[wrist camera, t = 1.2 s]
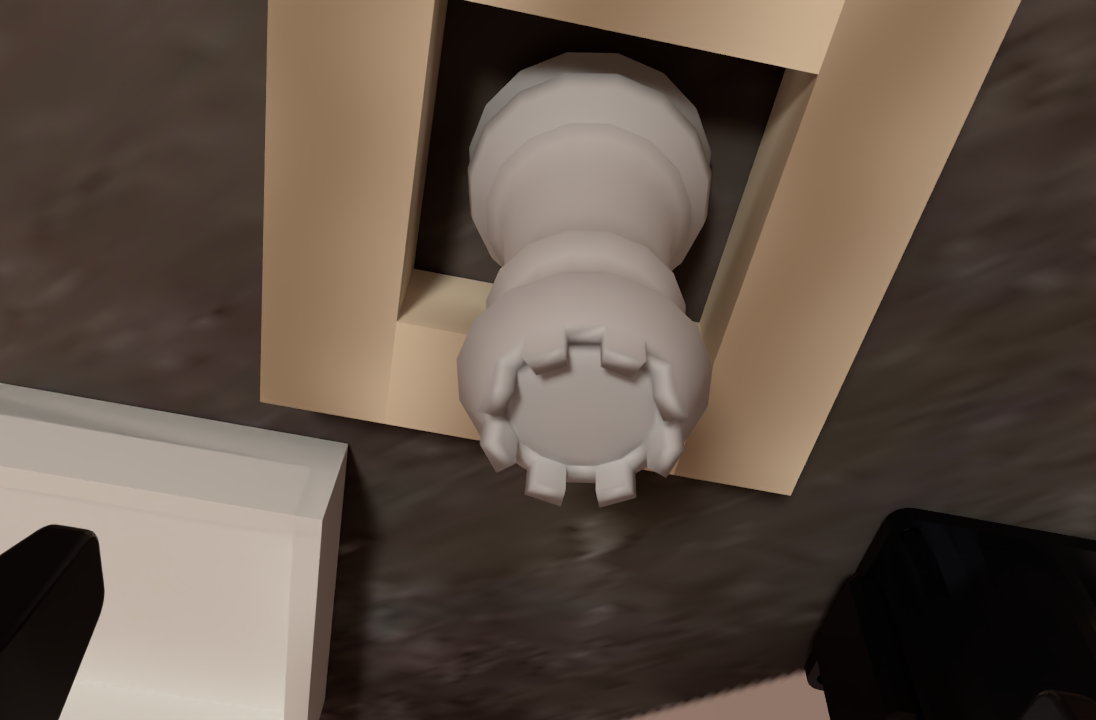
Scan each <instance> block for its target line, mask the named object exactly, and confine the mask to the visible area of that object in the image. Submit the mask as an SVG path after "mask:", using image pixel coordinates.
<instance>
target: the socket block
mask: <svg viewBox="0 0 1096 720" xmlns="http://www.w3.org/2000/svg"><path fill="white" fill-rule="evenodd" d="M466 1H471V2H476V3H481V4H485V5H490V6H495V7H500V8H504V9H509V10H514V11H519V12H524V13H528V14H533V15H538V16H543V17H547V18H552V19H557V20H562V21H566V22H571V23H576V24H581V25H585V26H590V27H595V28H600V29H604V30H609V31H614V32H619V33H623V34H628V35H633V36H638V37H642V38H647V39H652V40H657V41H661V42H666V43H671V44H676V45H681V46H685V47H690V48H695V49H700V50H704V51H709V52H714V53H719V54H723V55H728V56H733V57H738V58H742V59H747V60H752V61H757V62H761V63H766V64H771V65H776V66H780V67H785V68H786V70H785V72H784V75H783V78H782V81H781V84H780V87H779V90H778V93H777V96H776V99H775V102H774V105H773V108H772V111H771V114H770V117H769V120H768V122H767V125H766V128H765V131H764V134H763V137H762V140H761V143H760V146H759V149H758V152H757V155H756V158H755V161H754V164H753V167H752V170H751V172H750V175H749V178H748V181H747V184H746V187H745V190H744V193H743V196H742V199H741V202H740V205H739V208H738V211H737V214H736V217H735V219H734V222H733V225H732V228H731V231H730V234H729V237H728V240H727V243H726V246H725V249H724V252H723V255H722V258H721V261H720V264H719V267H718V269H717V272H716V275H715V278H714V281H713V284H712V287H711V290H710V293H709V296H708V299H707V302H706V305H705V308H704V311H703V314H702V317H701V319H700V322H699V323H698V322H694V323H695V324H696V325H697V326H698V329H699V332H700V334H701V337H702V339H703V342H704V345H705V347H706V350H707V353H708V355H709V358H710V360H711V363H712V366H713V368H712V376H711V384H710V393H709V401H708V407H707V409H706V410H705V412H704V413H703V415H702V416H701V418H700V419H699V421H698V422H697V424H696V425H695V427H694V428H693V430H692V431H691V433H690V434H689V436H688V437H687V439H686V440H685V442H684V452H683V453H682V455H681V456H680V458H679V459H678V461H677V462H676V464H675V465H674V467H673V469H672V470H671V472H670V473H669V474H671V475H677V476H682V477H688V478H694V479H699V480H705V481H711V482H716V483H722V484H728V485H733V486H739V487H745V488H750V489H756V490H762V491H767V492H773V493H778V494H784V495H790V496H791V493H792V491H793V489H794V487H795V485H796V483H797V481H798V478H799V476H800V474H801V472H802V470H803V468H804V465H805V463H806V461H807V459H808V457H809V455H810V453H811V450H812V448H813V446H814V444H815V442H816V440H817V438H818V435H819V433H820V431H821V429H822V427H823V425H824V423H825V420H826V418H827V416H828V414H829V412H830V410H831V407H832V405H833V403H834V401H835V399H836V397H837V395H838V392H839V390H840V388H841V386H842V384H843V382H844V380H845V377H846V375H847V373H848V371H849V369H850V367H851V365H852V362H853V360H854V358H855V356H856V354H857V352H858V349H859V347H860V345H861V343H862V341H863V339H864V337H865V334H866V332H867V330H868V328H869V326H870V324H871V322H872V319H873V317H874V315H875V313H876V311H877V309H878V307H879V304H880V302H881V300H882V298H883V296H884V294H885V291H886V289H887V287H888V285H889V283H890V281H891V279H892V276H893V274H894V272H895V270H896V268H897V266H898V264H899V261H900V259H901V257H902V255H903V253H904V251H905V249H906V246H907V244H908V242H909V240H910V238H911V236H912V234H913V231H914V229H915V227H916V225H917V223H918V221H919V218H920V216H921V214H922V212H923V210H924V208H925V206H926V203H927V201H928V199H929V197H930V195H931V193H932V191H933V188H934V186H935V184H936V182H937V180H938V178H939V176H940V173H941V171H942V169H943V167H944V165H945V163H946V160H947V158H948V156H949V154H950V152H951V150H952V148H953V145H954V143H955V141H956V139H957V137H958V135H959V133H960V130H961V128H962V126H963V124H964V122H965V120H966V118H967V115H968V113H969V111H970V109H971V107H972V105H973V102H974V100H975V98H976V96H977V94H978V92H979V90H980V87H981V85H982V83H983V81H984V79H985V77H986V75H987V72H988V70H989V68H990V66H991V64H992V62H993V60H994V57H995V55H996V53H997V51H998V49H999V47H1000V44H1001V42H1002V40H1003V38H1004V36H1005V34H1006V32H1007V29H1008V27H1009V25H1010V23H1011V21H1012V19H1013V17H1014V14H1015V12H1016V10H1017V8H1018V6H1019V4H1020V2H1021V0H466ZM447 3H448V0H268V32H267V82H266V132H265V182H264V232H263V282H262V332H261V383H260V402H264V403H270V404H276V405H281V406H287V407H293V408H298V409H304V410H310V411H315V412H321V413H327V414H332V415H338V416H344V417H349V418H355V419H360V420H366V421H372V422H377V423H383V424H389V425H394V426H400V427H406V428H411V429H417V430H423V431H428V432H434V433H440V434H445V435H451V436H456V437H462V438H468V439H473V440H479V441H480V439H481V436H480V435H479V433H478V431H477V429H476V428H475V426H474V424H473V423H472V421H471V419H470V417H469V416H468V414H467V412H466V410H465V409H464V407H463V405H462V404H461V402H460V400H459V389H458V374H457V357H458V355H459V353H460V350H461V348H462V346H463V344H464V341H465V339H466V337H467V334H468V332H469V330H470V328H471V325H472V323H473V321H474V320H475V319H476V318H477V317H478V316H479V315H481V314H482V313H483V312H484V311H485V310H486V299H487V297H488V295H489V293H490V290H491V288H492V286H493V284H492V283H487V282H481V281H476V280H471V279H465V278H460V277H455V276H450V275H444V274H439V273H434V272H428V271H423V270H418V269H414V264H415V256H416V248H417V240H418V232H419V224H420V216H421V208H422V201H423V193H424V185H425V177H426V169H427V161H428V153H429V145H430V137H431V129H432V121H433V113H434V106H435V98H436V90H437V82H438V74H439V66H440V58H441V50H442V42H443V34H444V26H445V18H446V10H447ZM643 470H649V471H653V470H651V469H649V468H647V467H646V468H644V469H643Z"/></svg>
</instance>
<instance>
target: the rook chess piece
mask: <svg viewBox="0 0 1096 720" xmlns="http://www.w3.org/2000/svg"><path fill="white" fill-rule="evenodd" d="M469 152H470V163H469V166H468V186H469V205H470V214H471V216H472V219H473V221H474V223H475V225H476V227H477V229H478V231H479V233H480V235H481V237H482V239H483V241H484V243H485V245H486V247H487V249H488V251H489V253H490V255H491V257H492V259H493V260H495V261H496V262H497V263H498V264H499V265H500V266H501V267H502V268H501V269H500V270H499V272H498V275H497V277H496V279H495V281H494V284H493V286H492V288H491V290H490V293H489V295H488V297H487V299H486V310H485V311H484V312H483V313H482V314H481V315H479V316H478V317H477V318H476V319H475V320H474V321H473V323H472V325H471V328H470V330H469V332H468V334H467V337H466V339H465V341H464V344H463V346H462V348H461V350H460V353H459V355H458V357H457V374H458V389H459V400H460V402H461V404H462V405H463V407H464V409H465V410H466V412H467V414H468V416H469V417H470V419H471V421H472V423H473V424H474V426H475V428H476V429H477V431H478V433H479V435H480V436H481V439H480V445H481V447H482V449H483V451H484V452H485V454H486V456H487V458H488V459H489V461H490V463H491V464H492V466H493V468H494V470H495V471H496V473H497V472H499V471H501V470H503V469H505V468H507V467H509V466H511V465H514V464H515V463H517V464H518V465H520V466H521V467H523V468H525V469H526V470H527V476H526V487H525V495H528V496H531V497H534V498H537V499H540V500H543V501H546V502H549V503H552V504H555V505H558V506H561V504H562V500H563V497H564V493H565V488H566V482H578V483H596V494H597V499H598V503H599V507H604V506H608V505H612V504H615V503H619V502H623V501H627V500H630V499H634V498H636V479H635V473H637V472H639V471H641V470H642V469H644V468H646V467H647V468H649V469H651V470H653V471H654V472H656V473H658V474H660V475H662V476H663V477H665V478H667V476H668V475H669V473H670V472H671V470H672V469H673V467H674V465H675V464H676V462H677V461H678V459H679V458H680V456H681V455H682V453H683V452H684V442H685V440H686V439H687V437H688V436H689V434H690V433H691V431H692V430H693V428H694V427H695V425H696V424H697V422H698V421H699V419H700V418H701V416H702V415H703V413H704V412H705V410H706V409H707V407H708V401H709V393H710V384H711V376H712V368H713V366H712V363H711V360H710V358H709V355H708V353H707V350H706V347H705V345H704V342H703V339H702V337H701V334H700V332H699V329H698V326H697V325H696V324H695V323H694V322H693V321H692V320H691V319H689V318H688V317H687V316H686V315H685V310H686V304H685V302H684V299H683V297H682V294H681V291H680V289H679V286H678V284H677V281H676V279H675V276H674V273H673V272H672V270H673V269H674V268H676V267H677V266H678V265H680V264H681V263H682V262H683V260H684V258H685V256H686V255H687V253H688V251H689V249H690V248H691V246H692V244H693V242H694V241H695V239H696V237H697V235H698V234H699V232H700V230H701V228H702V227H703V225H704V223H705V220H706V218H707V212H708V203H709V193H710V184H711V175H712V172H711V169H710V157H711V151H710V148H709V145H708V142H707V139H706V136H705V133H704V130H703V127H702V124H701V121H700V118H699V115H698V112H697V109H696V107H695V106H694V105H693V104H692V103H691V102H690V101H689V100H688V99H687V98H686V97H685V96H684V95H683V93H682V92H681V91H680V90H679V89H678V88H677V87H676V86H675V85H674V84H673V83H672V82H671V81H670V79H669V78H668V77H667V76H666V75H665V74H664V73H662V72H660V71H658V70H655V69H653V68H651V67H648V66H646V65H644V64H642V63H639V62H637V61H635V60H632V59H630V58H628V57H626V56H623V55H621V54H619V53H577V52H566V53H564V54H561V55H559V56H556V57H554V58H551V59H549V60H546V61H544V62H541V63H539V64H536V65H534V66H531V67H529V68H526V69H524V70H521V71H520V72H519V73H518V74H516V75H515V76H514V77H513V78H512V79H511V80H510V81H509V82H508V83H507V84H506V85H505V86H504V87H503V88H502V89H501V90H500V91H499V92H498V93H497V94H496V95H495V96H494V97H493V98H492V99H491V100H490V101H489V102H488V103H487V104H486V106H485V109H484V111H483V114H482V116H481V119H480V121H479V124H478V127H477V129H476V132H475V134H474V137H473V139H472V142H471V145H470V147H469Z"/></svg>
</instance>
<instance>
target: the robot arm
mask: <svg viewBox="0 0 1096 720" xmlns="http://www.w3.org/2000/svg"><path fill="white" fill-rule="evenodd" d="M907 528H913V529H911V530H908V531H903V530H905V529H907ZM104 595H105V588H104V579H103V571H102V563H101V554H100V546H99V541H98V537H97V536H96V534H95V533H94V532H93V531H91V530H88V529H82V528H76V527H70V526H64V525H58V524H51V525H47V526H45V527H42V528H40V529H38V530H37V531H35V532H34V533H32V534H31V535H29V536H28V537H26V538H25V539H23V540H22V541H20V542H19V543H17V544H16V545H14V546H13V547H11V548H10V549H8V550H7V551H5V552H4V553H2V554H0V720H59V718H60V715H61V713H62V710H63V708H64V705H65V703H66V700H67V698H68V695H69V693H70V690H71V688H72V685H73V682H74V680H75V677H76V675H77V672H78V670H79V667H80V665H81V662H82V660H83V657H84V655H85V652H86V650H87V647H88V645H89V642H90V640H91V637H92V635H93V632H94V630H95V627H96V625H97V622H98V620H99V617H100V614H101V611H102V607H103V602H104ZM805 671H806V676H807V681H808V683H809V685H810V686H812V687H813V688H815V689H818V690H823V691H824V694H825V698H826V703H827V707H828V712H829V716H830V720H1096V540H1091V539H1085V538H1079V537H1074V536H1068V535H1062V534H1057V533H1051V532H1046V531H1040V530H1034V529H1029V528H1023V527H1017V526H1012V525H1006V524H1001V523H995V522H989V521H984V520H978V519H972V518H967V517H961V516H956V515H950V514H944V513H939V512H933V511H927V510H922V509H916V508H904V509H900V510H897V511H895V512H893V513H892V514H890V515H889V516H888V518H887V519H886V520H885V522H884V524H883V525H882V527H881V529H880V531H879V533H878V534H877V536H876V538H875V540H874V542H873V543H872V545H871V547H870V549H869V551H868V552H867V554H866V556H865V558H864V560H863V561H862V563H861V565H860V567H859V569H858V570H857V572H856V574H855V575H854V576H853V577H852V578H850V579H849V580H848V581H847V582H846V584H845V585H844V587H843V589H842V591H841V593H840V595H839V596H838V598H837V600H836V602H835V604H834V605H833V607H832V609H831V611H830V613H829V614H828V616H827V618H826V620H825V622H824V623H823V625H822V627H821V629H820V631H819V633H818V634H817V636H816V638H815V640H814V649H813V651H812V653H811V655H810V657H809V658H808V660H807V662H806V665H805Z"/></svg>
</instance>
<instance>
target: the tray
mask: <svg viewBox="0 0 1096 720" xmlns="http://www.w3.org/2000/svg"><path fill="white" fill-rule="evenodd" d="M347 452H348V444H346V443H340V442H334V441H329V440H323V439H317V438H312V437H306V436H300V435H294V434H289V433H283V432H277V431H272V430H266V429H260V428H254V427H249V426H243V425H237V424H232V423H226V422H220V421H214V420H209V419H203V418H197V417H192V416H186V415H180V414H174V413H169V412H163V411H157V410H152V409H146V408H140V407H134V406H129V405H123V404H117V403H112V402H106V401H100V400H94V399H89V398H83V397H77V396H72V395H66V394H60V393H54V392H49V391H43V390H37V389H32V388H26V387H20V386H14V385H9V384H3V383H0V554H2V553H4V552H5V551H7V550H8V549H10V548H11V547H13V546H14V545H16V544H17V543H19V542H20V541H22V540H23V539H25V538H26V537H28V536H29V535H31V534H32V533H34V532H35V531H37V530H38V529H40V528H42V527H45V526H47V525H51V524H58V525H64V526H70V527H76V528H82V529H88V530H91V531H93V532H94V533H95V534H96V536H97V537H98V541H99V546H100V554H101V563H102V571H103V579H104V588H105V595H104V602H103V607H102V611H101V614H100V617H99V620H98V622H97V625H96V627H95V630H94V632H93V635H92V637H91V640H90V642H89V645H88V647H87V650H86V652H85V655H84V657H83V660H82V662H81V665H80V667H79V670H78V672H77V675H76V677H75V680H74V682H73V685H72V688H71V690H70V693H69V695H68V698H67V700H66V703H65V705H64V708H63V710H62V713H61V715H60V718H59V720H319V719H320V715H321V712H322V708H323V704H324V701H325V693H326V682H327V671H328V660H329V649H330V638H331V627H332V616H333V605H334V594H335V583H336V572H337V561H338V550H339V539H340V529H341V518H342V507H343V496H344V485H345V474H346V463H347Z"/></svg>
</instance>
